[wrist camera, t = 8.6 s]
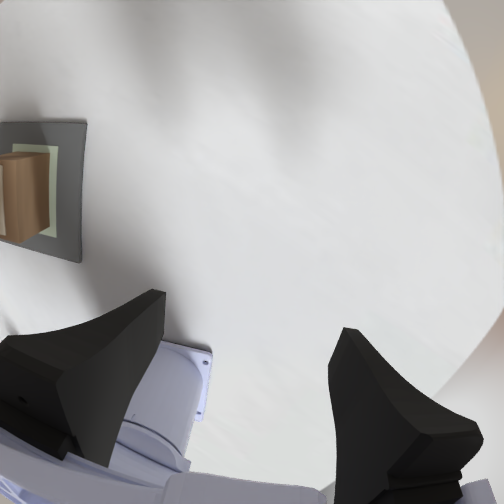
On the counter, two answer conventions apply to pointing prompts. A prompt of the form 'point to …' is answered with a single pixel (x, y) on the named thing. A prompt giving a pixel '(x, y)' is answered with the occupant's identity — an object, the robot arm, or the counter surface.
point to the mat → (54, 181)
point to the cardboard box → (24, 195)
